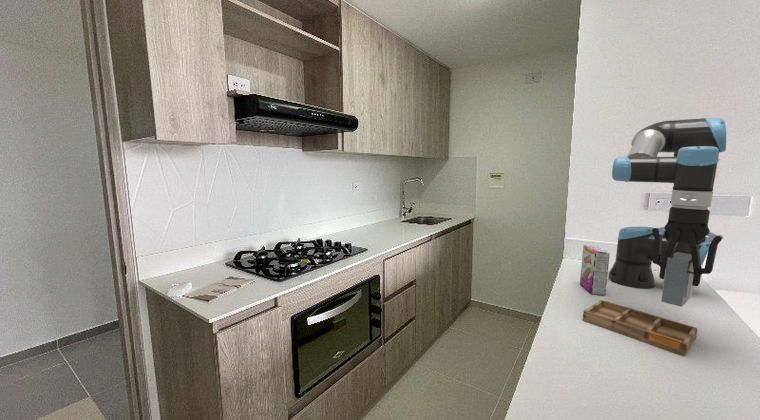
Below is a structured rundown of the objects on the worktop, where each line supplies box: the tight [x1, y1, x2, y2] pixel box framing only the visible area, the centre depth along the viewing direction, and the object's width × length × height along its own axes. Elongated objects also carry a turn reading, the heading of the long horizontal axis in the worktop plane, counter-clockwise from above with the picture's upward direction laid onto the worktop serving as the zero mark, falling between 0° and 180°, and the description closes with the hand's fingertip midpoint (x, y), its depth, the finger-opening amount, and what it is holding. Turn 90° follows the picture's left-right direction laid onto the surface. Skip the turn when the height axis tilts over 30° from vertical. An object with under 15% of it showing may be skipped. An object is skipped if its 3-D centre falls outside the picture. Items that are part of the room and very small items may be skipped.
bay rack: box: [582, 299, 698, 357], centre depth 93 cm, size 15×23×3 cm, turn 37°
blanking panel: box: [661, 252, 694, 308], centre depth 85 cm, size 10×4×12 cm, turn 127°
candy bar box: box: [579, 244, 611, 296], centre depth 122 cm, size 11×5×16 cm, turn 168°
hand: (676, 293), depth 85 cm, fingers closed on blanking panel, 4 cm apart
